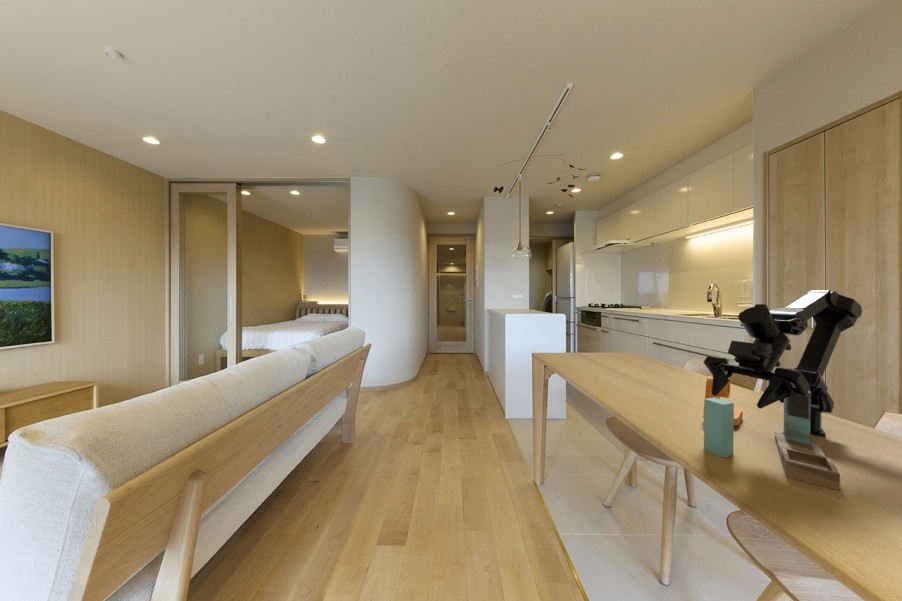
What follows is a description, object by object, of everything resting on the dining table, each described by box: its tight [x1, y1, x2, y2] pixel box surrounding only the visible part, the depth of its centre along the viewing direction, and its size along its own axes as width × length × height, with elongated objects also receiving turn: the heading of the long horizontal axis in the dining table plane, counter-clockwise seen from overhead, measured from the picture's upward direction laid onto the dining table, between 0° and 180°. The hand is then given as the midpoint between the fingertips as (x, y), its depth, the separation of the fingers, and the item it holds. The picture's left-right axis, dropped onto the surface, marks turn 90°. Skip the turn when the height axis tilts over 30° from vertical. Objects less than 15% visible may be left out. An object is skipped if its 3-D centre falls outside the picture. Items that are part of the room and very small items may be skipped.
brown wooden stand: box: [774, 391, 841, 491], centre depth 70 cm, size 22×7×14 cm, turn 139°
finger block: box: [703, 397, 735, 458], centre depth 74 cm, size 4×4×12 cm
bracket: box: [702, 375, 744, 427], centre depth 93 cm, size 11×7×12 cm
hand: (734, 400), depth 76 cm, fingers open, 9 cm apart
